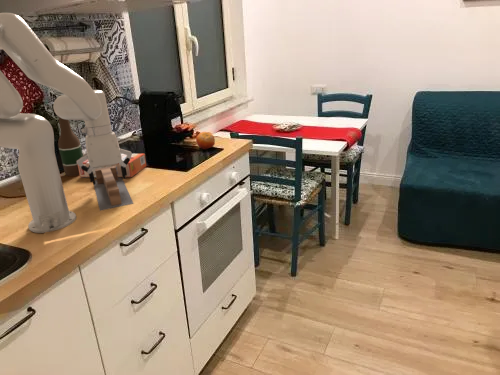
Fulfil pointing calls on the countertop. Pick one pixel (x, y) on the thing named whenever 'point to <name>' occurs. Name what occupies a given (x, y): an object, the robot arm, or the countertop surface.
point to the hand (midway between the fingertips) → (109, 180)
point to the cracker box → (132, 167)
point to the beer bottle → (69, 148)
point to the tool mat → (104, 199)
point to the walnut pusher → (109, 183)
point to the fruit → (205, 140)
